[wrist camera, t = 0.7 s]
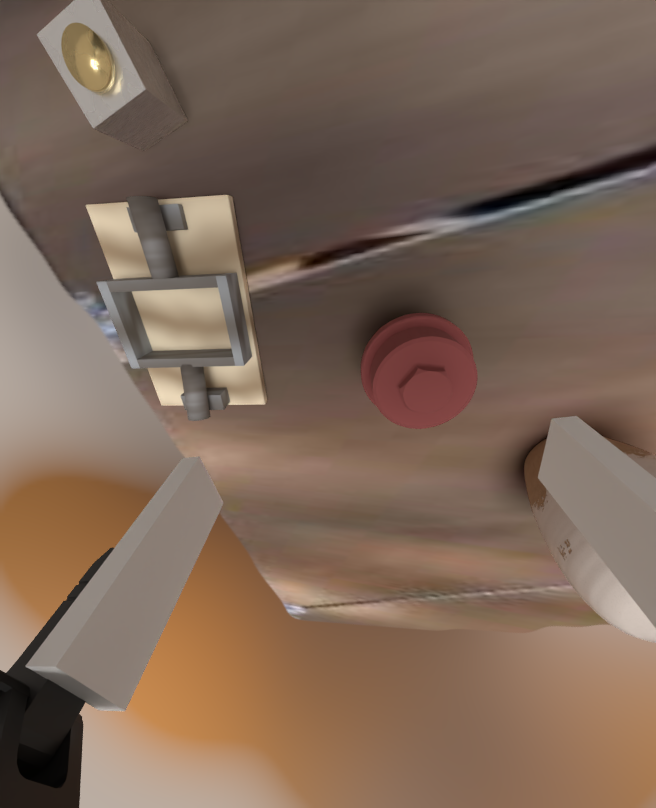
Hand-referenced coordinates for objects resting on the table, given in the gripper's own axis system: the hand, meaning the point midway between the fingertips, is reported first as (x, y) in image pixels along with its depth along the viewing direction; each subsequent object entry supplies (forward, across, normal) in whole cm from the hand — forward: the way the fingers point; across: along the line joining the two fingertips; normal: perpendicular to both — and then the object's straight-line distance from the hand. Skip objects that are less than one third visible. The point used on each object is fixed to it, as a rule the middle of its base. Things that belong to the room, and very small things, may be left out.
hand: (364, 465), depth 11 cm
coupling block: (+24, -15, +21) cm, 35 cm away
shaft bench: (+24, -18, +3) cm, 30 cm away
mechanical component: (+24, +5, -4) cm, 25 cm away
